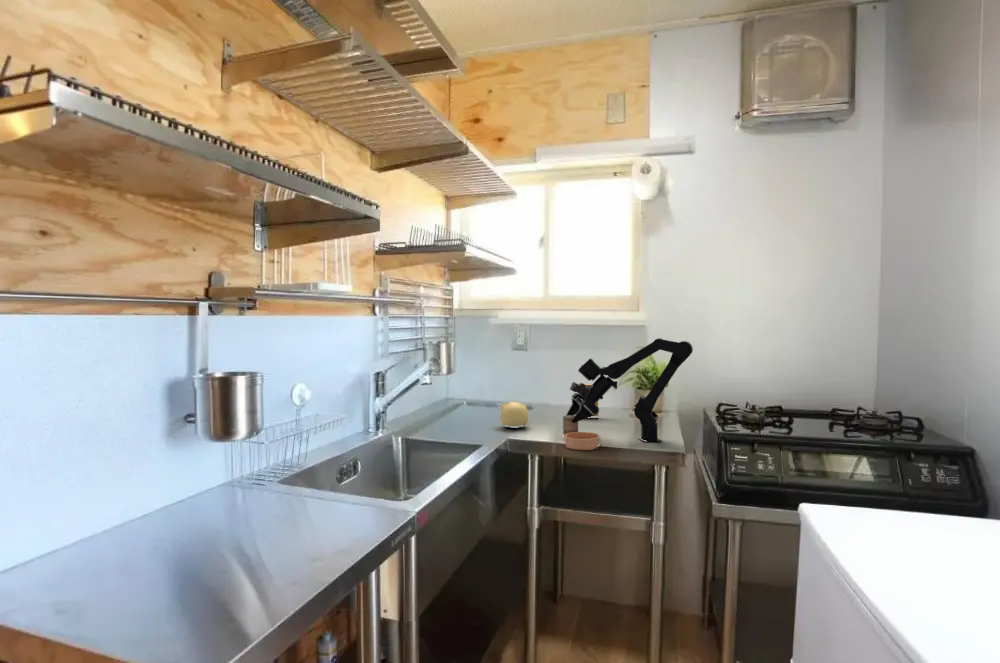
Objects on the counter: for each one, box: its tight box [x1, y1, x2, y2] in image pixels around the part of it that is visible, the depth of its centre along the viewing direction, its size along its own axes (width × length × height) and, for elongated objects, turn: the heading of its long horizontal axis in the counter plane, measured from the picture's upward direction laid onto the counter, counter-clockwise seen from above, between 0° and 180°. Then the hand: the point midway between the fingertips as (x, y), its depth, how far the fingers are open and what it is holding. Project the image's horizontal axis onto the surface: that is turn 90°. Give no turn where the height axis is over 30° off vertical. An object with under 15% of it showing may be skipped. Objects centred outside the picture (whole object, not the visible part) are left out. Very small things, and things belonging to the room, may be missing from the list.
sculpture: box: [499, 401, 530, 426], centre depth 212 cm, size 12×12×11 cm
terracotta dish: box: [563, 431, 601, 451], centre depth 181 cm, size 12×12×4 cm
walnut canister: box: [562, 415, 579, 435], centre depth 192 cm, size 6×6×8 cm
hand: (569, 419), depth 192 cm, fingers open, 9 cm apart
